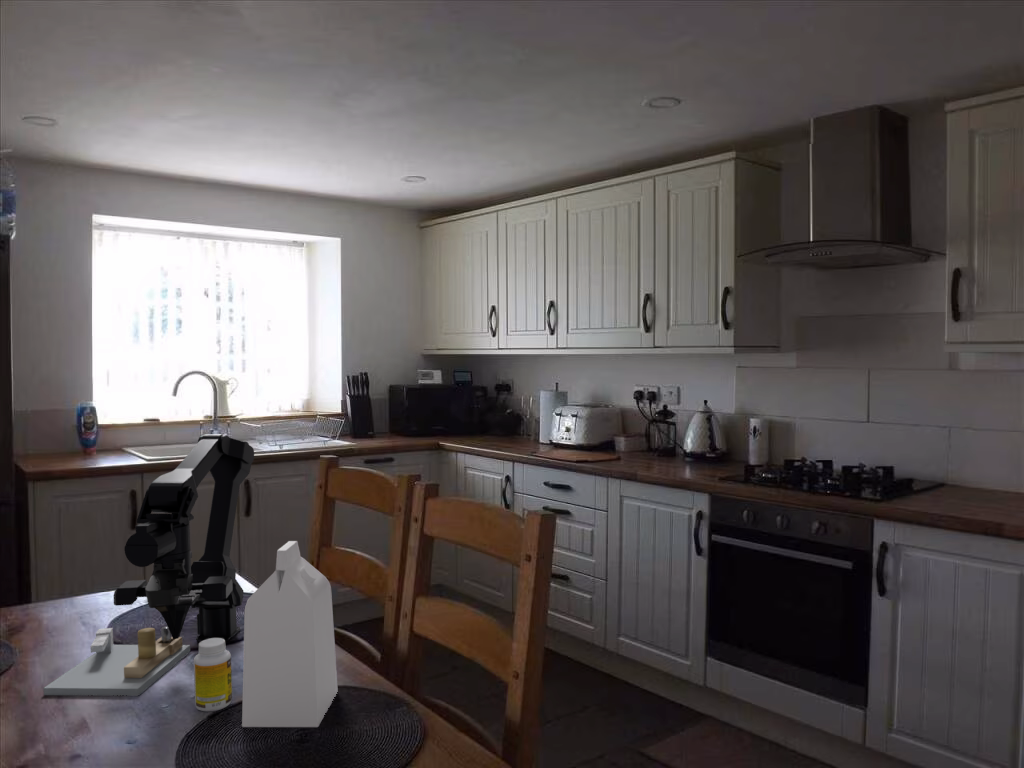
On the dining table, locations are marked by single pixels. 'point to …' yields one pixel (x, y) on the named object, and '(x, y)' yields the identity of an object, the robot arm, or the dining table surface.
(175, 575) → the robot arm
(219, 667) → the supplement bottle
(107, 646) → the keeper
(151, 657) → the latch bar
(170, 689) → the dining table surface
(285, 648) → the milk
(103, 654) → the board
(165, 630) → the peg
